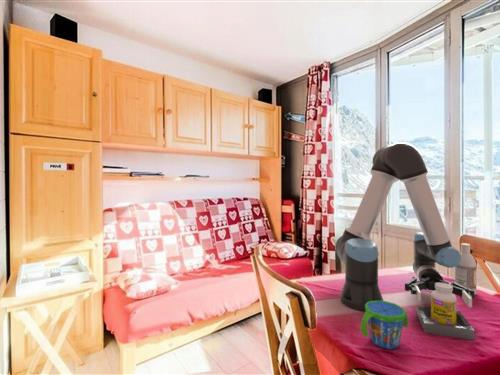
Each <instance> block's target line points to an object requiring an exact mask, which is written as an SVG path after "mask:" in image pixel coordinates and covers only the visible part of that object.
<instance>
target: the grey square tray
mask: <svg viewBox="0 0 500 375" xmlns="http://www.w3.org/2000/svg"><path fill="white" fill-rule="evenodd" d="M416 316H417V318H418V320H419V323H420V325H421V327H422V329H423V333H425V334H432V335H439V336H444V337H450V338H457V339H464V340H469V341H470V340H471V341H475V329H474V328H473V327H472V325H471V324H470V323H469V321H468V320H467V319H466V317H465V316H464V314H462V312H461V310H456V326H455V325H448V324H441V323H434V322H431V306H430V307H429V306H423V305H421V306H420V305H416Z"/></svg>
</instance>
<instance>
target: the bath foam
mask: <svg viewBox="0 0 500 375" xmlns="http://www.w3.org/2000/svg"><path fill="white" fill-rule="evenodd" d="M460 245H461V246H460V251H461V252H460V254H461V262H460V263H459V265H457V266H456V267H454V281H455V282H456V283H458V284H460V285H462V286H464V287H467V288H469V289H471V290H473V291H475V294H474V296H476V294H477V262H476V260H475V258H474V257H473V255H472V254H471V244H470V243H464V242H462V243H461V244H460Z"/></svg>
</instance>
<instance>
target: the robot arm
mask: <svg viewBox="0 0 500 375" xmlns="http://www.w3.org/2000/svg"><path fill="white" fill-rule="evenodd" d="M371 166H372V167H371V169H370V173H371V178H370V181H369V183H368V185H367V188H366V190H365V192H364V195H363V197H362V198H361V200H360V203H359V206H358V207H357V211H356V213H355V215H354V217H353V220H352V222H351V224H350V226H349V227H347V228H345V229H344V230H343V232H342V233H343V234H342V235H340V237H339V238H338V239H337V240H336V243H335V246H334V247H335V252H336V255H337V257H338V258H339V260H341V262H342V263H343V264H344V270H345V271H344V272H345V273H344V274H345V276H344V277H345V279H344V284H343V286H342V289H341V292H340V302H341V303H342V304H343V305H344V304H345V305H344V306H345V307H348V308H350V309H352V308H353V310H356V311H362V312H366V311H365V304H366V303H367V302H370V301H384V297H383V295H382V292H381V289H380V286H379V250H378V245H377V243H375V242H374V241H373V240H372V237H371V235H372V232H373V229H374V227H375V225H376V223H377V221H378V218H379V216H380V214H381V212H382V209H383V206H384V205H385V203H386V200H387V198H388V196H389V193H390V191H391V189H392V187H393V184H395V183H397V182H402V183H403V185H404V187H405V189H406V192H407V195H408V197H409V200H410V203H411V205H412V208H413V210H414V213H415V216H416V219H417V221H418V225H419V227H420V229H421V232H418V231H417V232H416V233H414V240H413V243H414V244H413V245H414V246H413V248H414V250H413V251H414V255H413V256H414V257H413V258H414V259H413V262H412V269H413V272H414V274H415V275H416V276H411V278H410V279H408V281H406V282H404V291H406V292H408V291H410V294H411V295H415V296H416V298H417V301H419V302H420V301H422V292H421V291H422V290H425V291H427V290H428V291H434V290H436V289H435V283H446V284H450V285H452V286H453V291H452V293H453V294H454V295H455V296H458V297H460V298H461V300H463V302H465V305H467V307H469V308H473V299H475V295H476V294H475V291H473V290H471V289H469V288H467V287H464V286H462V285H460V284H458V283H456V282H455V280H451V281H450V282H448V281H445V280H444V278H443V277H442V275H441V274H440V272H439V271H438V270H437V269H436V264H438V265H439V266H441V267H445V268H450V269H452V268H455V267H456V266H457V265H459V263H460V262H461V254H460V253H461V252H460V251H459V250H458V249H456V248H455V247H454V246H452V243H451V241H450V238H449V235H448V232H447V230H446V226H445V225H444V224H445V223H444V222H443V218H442V216H441V213H440V211H439V210H440V209H439V207H438V206H437V202H436V199H435V197H434V194H433V192H432V189H431V186H430V184H429V183H430V182H429V181H428V178H427V175H428V173H429V172H428V168H427V167H426V166H427V165H426V163H425V161H424V158H423V157H422V155H421V153H420V151H419V150H418V149H417V148H416V147H415V146H414V145H413V144H410V143H408V142H405V141H403V142H401V141H399V142H395V143H393V144H389V145H384V146H383V147H381V148H380V149H379V148H378V150H377V151H375V153H374V154H373V156H372V165H371ZM416 277H417V278H416ZM474 294H475V295H474Z"/></svg>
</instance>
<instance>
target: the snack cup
mask: <svg viewBox="0 0 500 375" xmlns="http://www.w3.org/2000/svg"><path fill="white" fill-rule="evenodd" d="M361 318H362V319H361V323H360V327H359V328H360V332H361V334H362V335H363V337H365V338H368V337H370V340H371V341H372V343H373V344H374V345H375V346H378V347H380V348H384V349H387V350H392V349H393V350H394V349H396V348H398V347H400V343H401V338H402V332H403V327H404V328H408V327H409V319H408V318H409V317H408V313H407V311H406V309H404V308H403V307H402V306H400V305H398V304H397V303H393V302H391V301H384V300H383V301H370V302H367V303H366V304H365V311H364V314H363V316H362V317H361ZM368 330H369V332H368Z"/></svg>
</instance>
